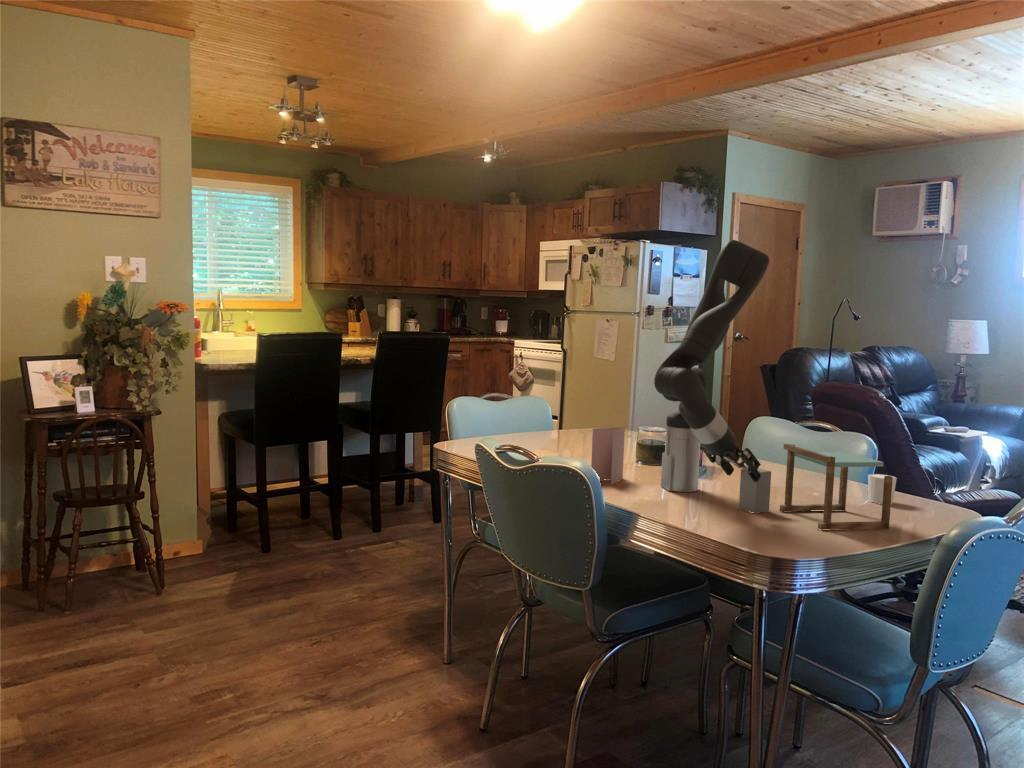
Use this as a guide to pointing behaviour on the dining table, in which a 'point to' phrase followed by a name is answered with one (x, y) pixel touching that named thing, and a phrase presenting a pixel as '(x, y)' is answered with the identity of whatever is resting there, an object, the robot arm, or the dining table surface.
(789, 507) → the frame
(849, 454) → the trapdoor
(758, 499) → the granite block
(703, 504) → the dining table surface
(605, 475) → the greeting card
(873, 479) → the white cup
